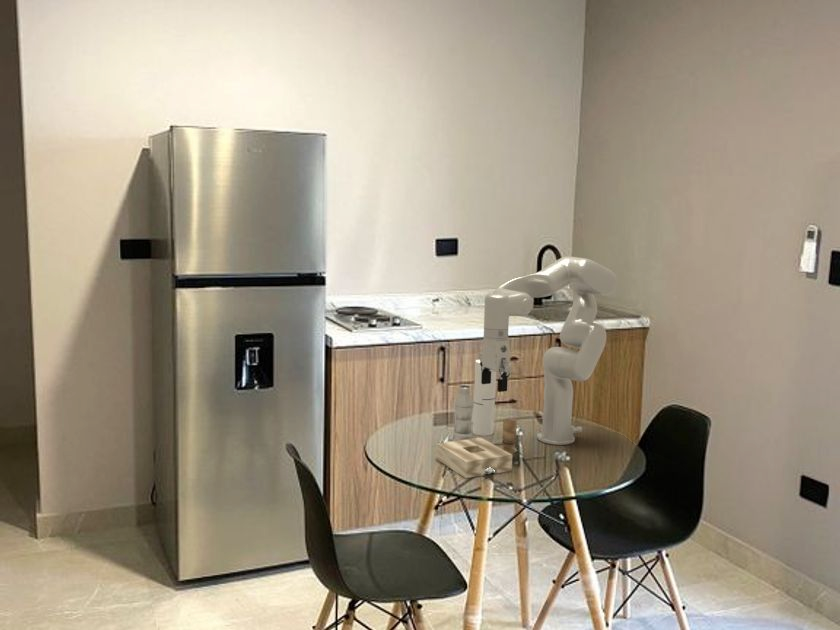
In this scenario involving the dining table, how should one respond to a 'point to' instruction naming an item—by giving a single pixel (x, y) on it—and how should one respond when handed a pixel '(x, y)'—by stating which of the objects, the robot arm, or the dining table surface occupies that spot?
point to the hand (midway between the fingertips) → (494, 387)
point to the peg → (509, 435)
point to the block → (473, 457)
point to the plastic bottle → (463, 414)
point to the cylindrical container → (483, 403)
